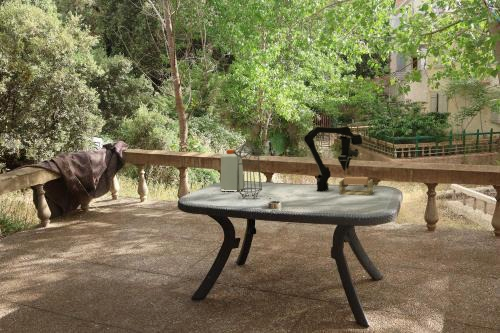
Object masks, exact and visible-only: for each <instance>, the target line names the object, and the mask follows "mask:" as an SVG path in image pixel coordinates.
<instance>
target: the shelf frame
mask: <svg viewBox="0 0 500 333" xmlns="http://www.w3.org/2000/svg"><path fill="white" fill-rule="evenodd" d="M373 179H374V178H373ZM373 179H372V178H371V179H370V180H369V179H368V182H367V185H363V187H364V188H367V189H346V187H348V186H349V185H344V178H342V179H341V180H339V182H338V183H339V184H338V191H339V194H338V195H341V196H342V195H343V196H344V195H345V196H346V195H347V196H370V195H371V196H372V194H373V193H374V180H373Z"/></svg>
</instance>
